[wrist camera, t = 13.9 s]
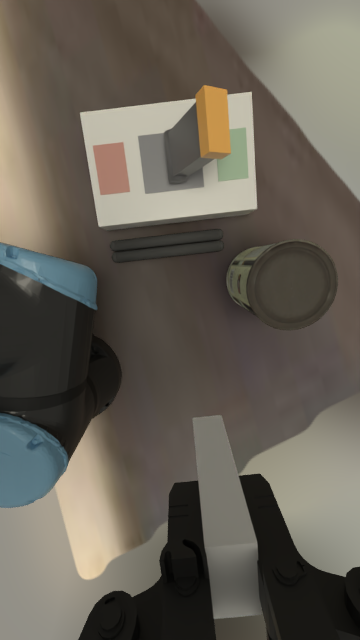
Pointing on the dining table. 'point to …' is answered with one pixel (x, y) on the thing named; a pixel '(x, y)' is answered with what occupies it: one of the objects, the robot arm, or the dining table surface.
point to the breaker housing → (165, 167)
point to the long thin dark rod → (165, 241)
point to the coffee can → (284, 283)
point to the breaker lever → (198, 135)
